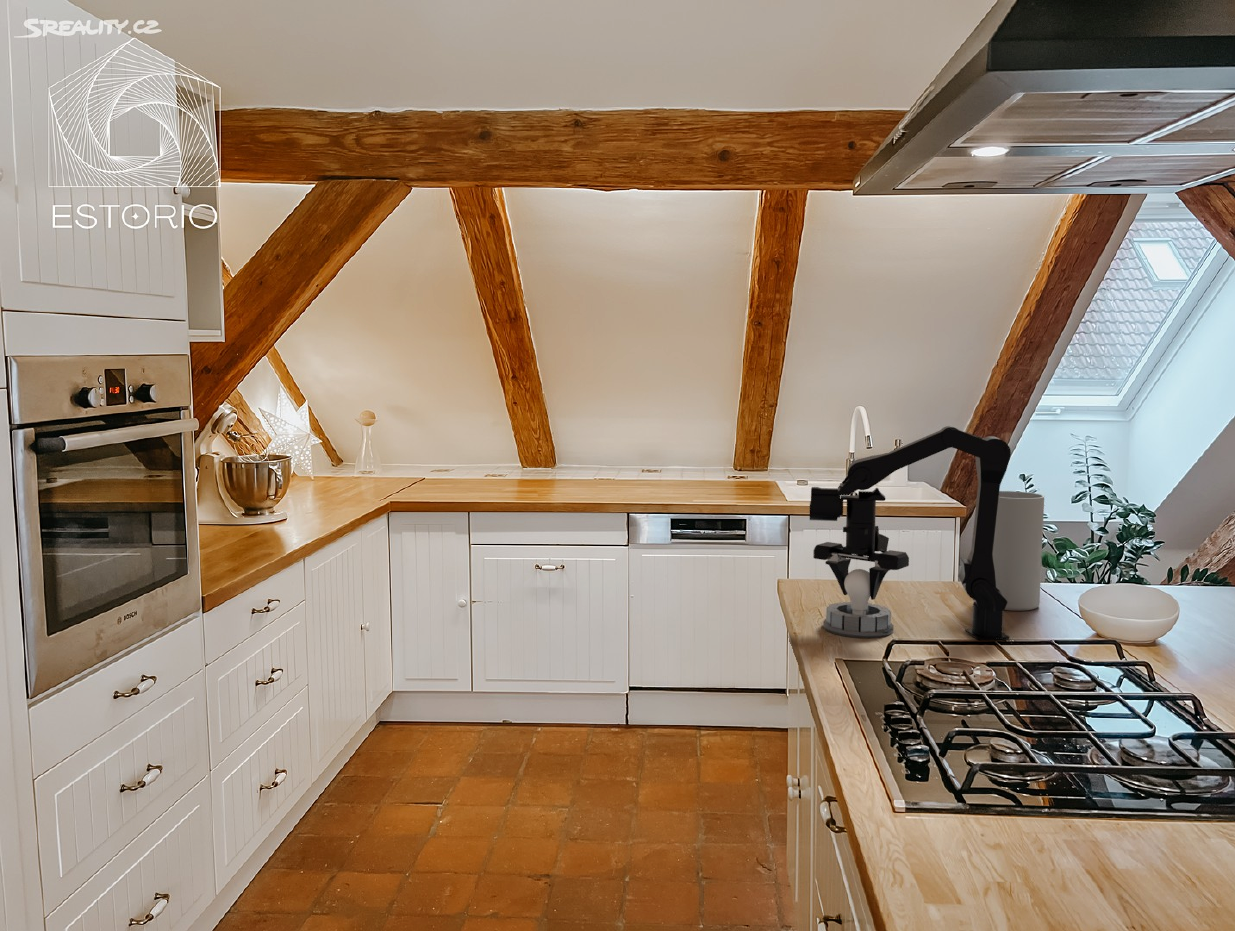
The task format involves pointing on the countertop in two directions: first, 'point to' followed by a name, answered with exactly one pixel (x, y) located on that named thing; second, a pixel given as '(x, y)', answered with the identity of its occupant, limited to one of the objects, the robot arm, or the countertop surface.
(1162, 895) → the countertop surface
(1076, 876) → the countertop surface
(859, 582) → the lightbulb
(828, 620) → the socket
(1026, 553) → the cylinder vase
